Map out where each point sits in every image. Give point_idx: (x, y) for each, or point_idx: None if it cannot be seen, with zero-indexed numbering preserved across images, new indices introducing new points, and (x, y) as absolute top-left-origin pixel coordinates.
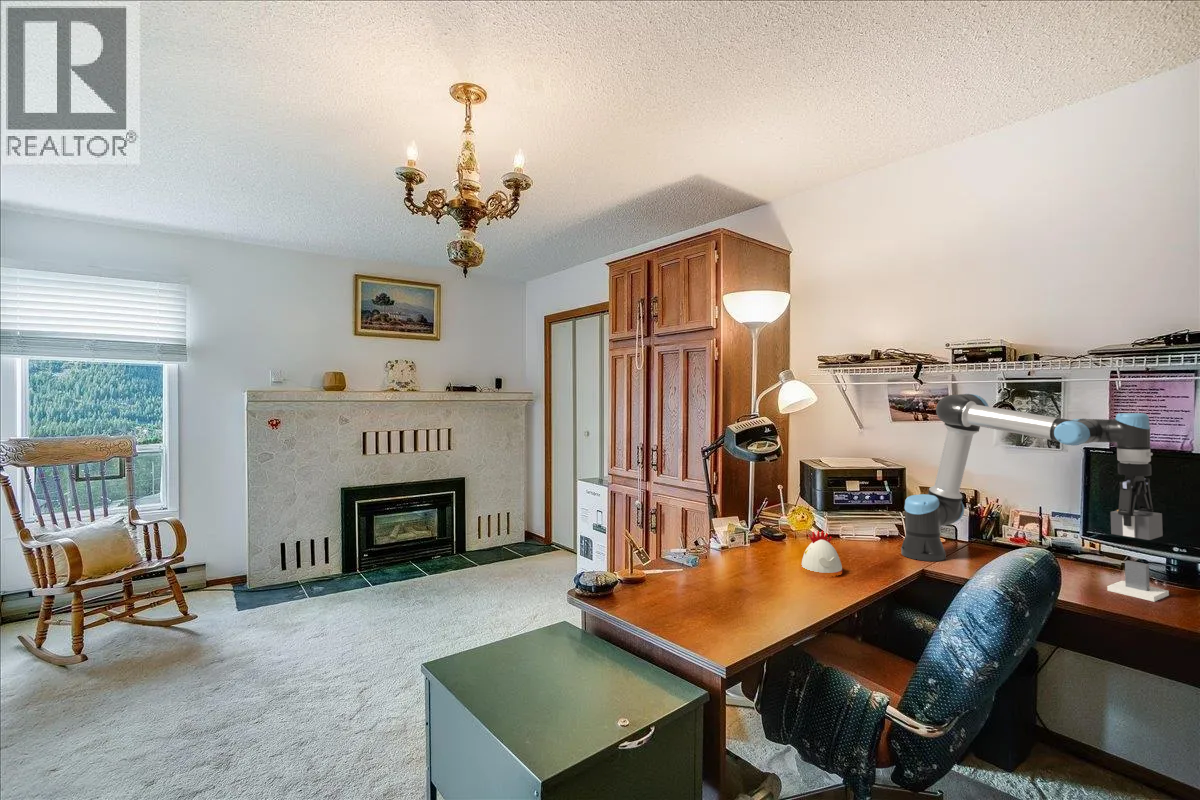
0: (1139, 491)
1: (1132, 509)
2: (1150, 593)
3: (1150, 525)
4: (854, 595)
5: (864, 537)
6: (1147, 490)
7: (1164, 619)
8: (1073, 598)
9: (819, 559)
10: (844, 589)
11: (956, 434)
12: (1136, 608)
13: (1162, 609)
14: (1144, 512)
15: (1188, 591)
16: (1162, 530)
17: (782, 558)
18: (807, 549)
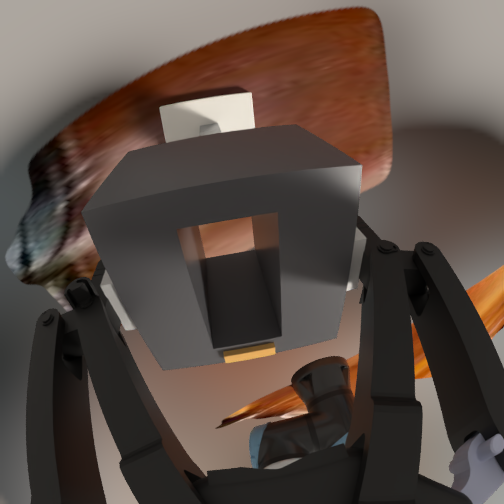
0: (371, 452)
1: (399, 273)
2: (229, 109)
3: (305, 145)
4: (490, 279)
5: (295, 416)
6: (59, 462)
7: (357, 41)
8: (370, 179)
9: None
10: (480, 293)
11: None
12: (335, 90)
13: (293, 60)
14: (171, 280)
15: (84, 116)
16: (120, 161)
17: (427, 365)
18: None
